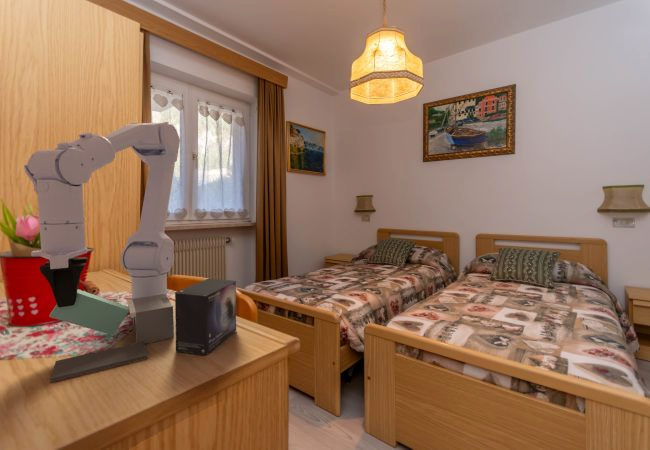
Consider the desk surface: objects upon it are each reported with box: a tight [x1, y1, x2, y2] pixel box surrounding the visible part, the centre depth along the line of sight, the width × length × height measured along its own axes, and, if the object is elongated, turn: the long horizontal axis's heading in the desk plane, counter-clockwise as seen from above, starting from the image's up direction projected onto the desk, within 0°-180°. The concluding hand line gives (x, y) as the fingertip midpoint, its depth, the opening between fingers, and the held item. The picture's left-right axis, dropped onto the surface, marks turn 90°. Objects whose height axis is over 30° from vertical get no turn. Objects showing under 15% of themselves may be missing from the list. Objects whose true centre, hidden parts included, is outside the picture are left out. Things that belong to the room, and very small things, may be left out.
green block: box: [48, 288, 130, 336], centre depth 55 cm, size 2×10×5 cm, turn 124°
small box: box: [174, 277, 237, 356], centre depth 57 cm, size 11×6×10 cm, turn 168°
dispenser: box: [126, 294, 175, 345], centre depth 61 cm, size 10×7×6 cm
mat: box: [49, 341, 148, 383], centre depth 50 cm, size 6×12×1 cm, turn 125°
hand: (67, 303), depth 53 cm, fingers closed on green block, 2 cm apart
